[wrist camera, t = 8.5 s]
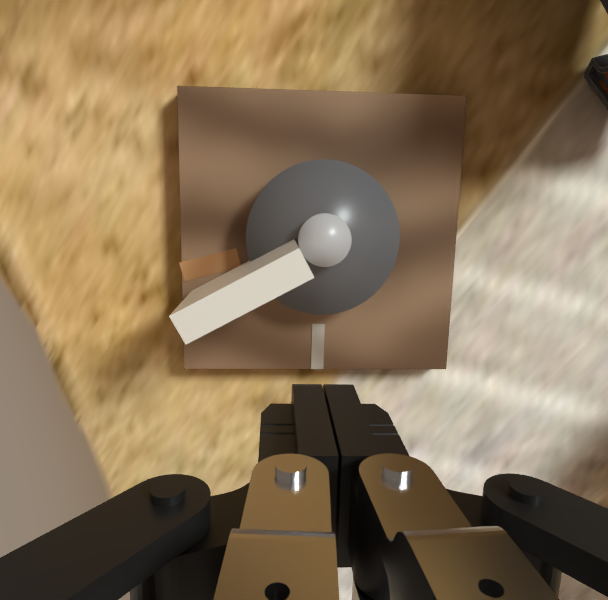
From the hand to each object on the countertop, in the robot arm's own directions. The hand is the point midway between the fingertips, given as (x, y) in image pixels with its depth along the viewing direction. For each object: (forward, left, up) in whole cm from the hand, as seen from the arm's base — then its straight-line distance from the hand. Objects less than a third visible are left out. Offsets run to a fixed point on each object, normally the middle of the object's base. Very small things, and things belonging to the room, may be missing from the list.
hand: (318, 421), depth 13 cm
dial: (-2, 0, -20) cm, 20 cm away
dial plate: (-3, +2, -22) cm, 22 cm away
